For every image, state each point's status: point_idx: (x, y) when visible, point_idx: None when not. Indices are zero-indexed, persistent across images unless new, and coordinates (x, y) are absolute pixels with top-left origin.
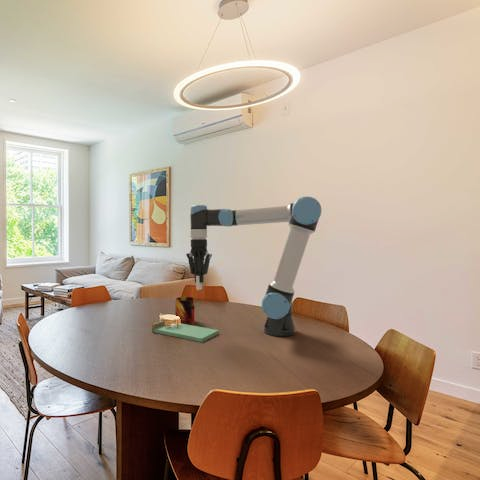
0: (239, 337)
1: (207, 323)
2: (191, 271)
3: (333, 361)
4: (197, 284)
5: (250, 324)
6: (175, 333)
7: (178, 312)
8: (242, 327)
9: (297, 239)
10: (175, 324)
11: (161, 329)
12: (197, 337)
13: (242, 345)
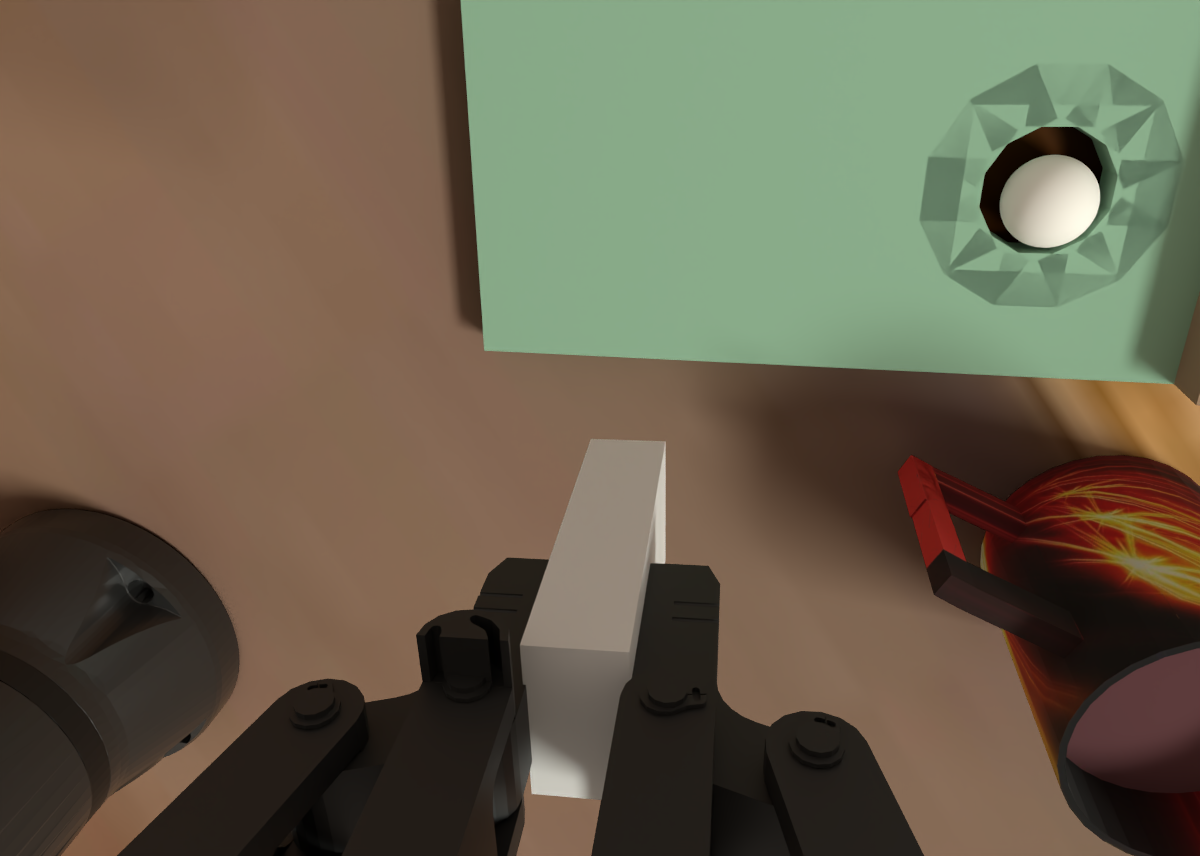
0: (267, 334)
1: (801, 588)
2: (849, 785)
3: None
4: (612, 503)
5: None
6: None
7: (1188, 528)
8: (426, 610)
9: None
10: (1029, 210)
11: (1157, 6)
12: None
13: (100, 134)
